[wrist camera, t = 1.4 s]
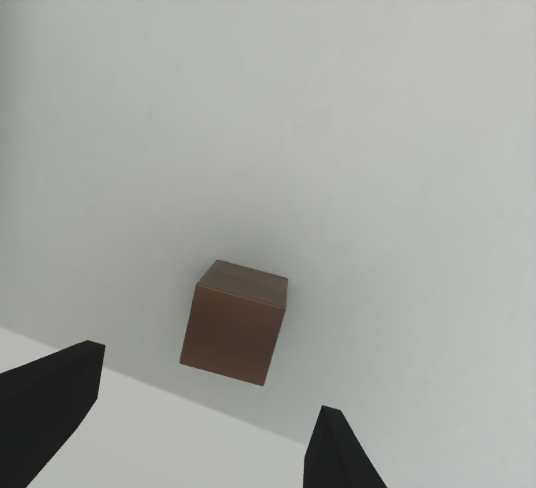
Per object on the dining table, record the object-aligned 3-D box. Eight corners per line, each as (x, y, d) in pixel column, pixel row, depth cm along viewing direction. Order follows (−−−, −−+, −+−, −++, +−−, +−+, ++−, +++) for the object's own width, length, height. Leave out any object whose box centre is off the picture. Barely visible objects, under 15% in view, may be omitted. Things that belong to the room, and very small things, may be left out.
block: (270, 343, 19) (263, 387, 16) (201, 324, 19) (178, 364, 16) (288, 278, 18) (286, 308, 15) (216, 259, 19) (195, 283, 15)
